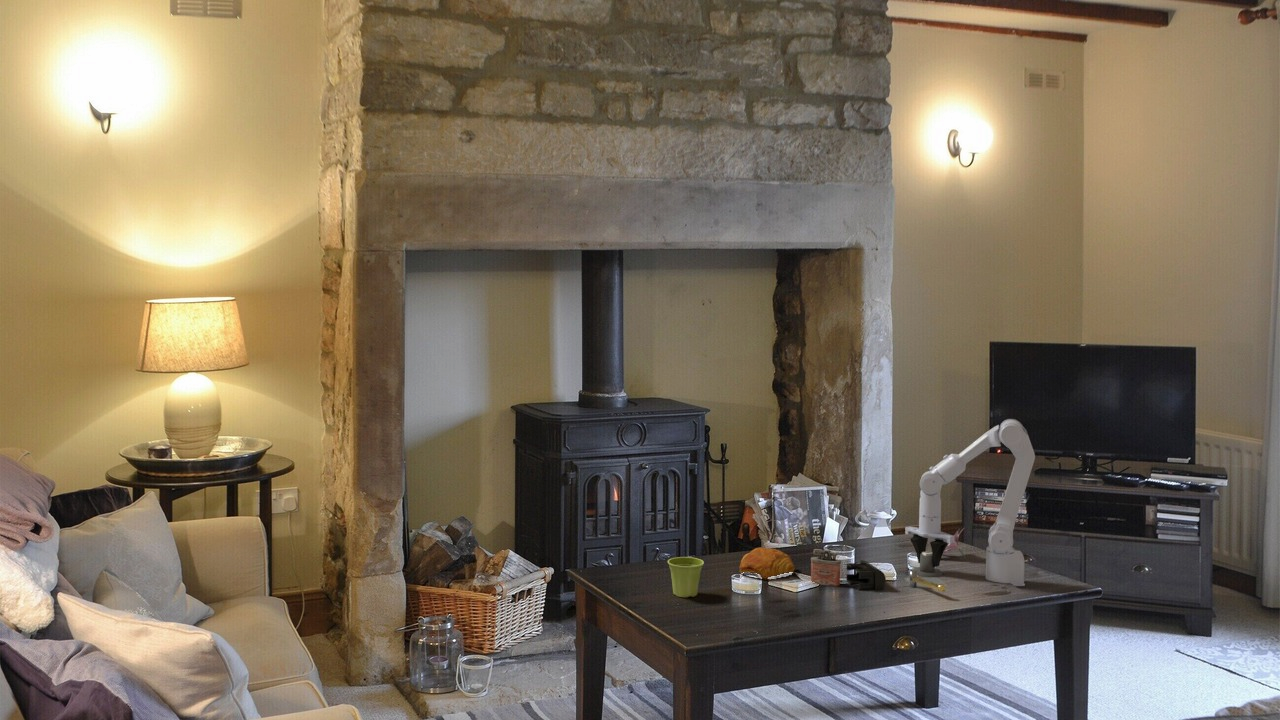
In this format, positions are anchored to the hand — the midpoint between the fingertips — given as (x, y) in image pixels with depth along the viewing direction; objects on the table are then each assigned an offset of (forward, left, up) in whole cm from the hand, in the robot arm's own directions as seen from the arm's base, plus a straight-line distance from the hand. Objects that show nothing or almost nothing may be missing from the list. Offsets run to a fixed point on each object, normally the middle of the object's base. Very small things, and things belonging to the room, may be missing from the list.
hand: (928, 564), depth 308 cm
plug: (0, 0, -3) cm, 3 cm away
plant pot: (+69, +11, -4) cm, 70 cm away
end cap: (+21, +10, -4) cm, 24 cm away
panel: (+3, +11, -3) cm, 12 cm away
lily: (-14, -20, -4) cm, 24 cm away
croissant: (+44, -7, -4) cm, 45 cm away
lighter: (+31, +7, -4) cm, 32 cm away
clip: (+7, +18, -2) cm, 20 cm away
